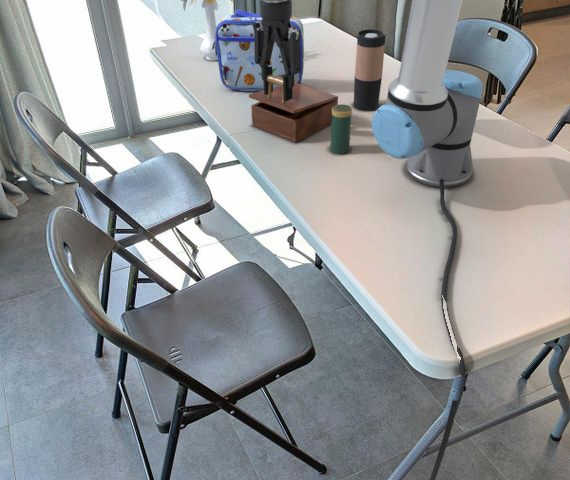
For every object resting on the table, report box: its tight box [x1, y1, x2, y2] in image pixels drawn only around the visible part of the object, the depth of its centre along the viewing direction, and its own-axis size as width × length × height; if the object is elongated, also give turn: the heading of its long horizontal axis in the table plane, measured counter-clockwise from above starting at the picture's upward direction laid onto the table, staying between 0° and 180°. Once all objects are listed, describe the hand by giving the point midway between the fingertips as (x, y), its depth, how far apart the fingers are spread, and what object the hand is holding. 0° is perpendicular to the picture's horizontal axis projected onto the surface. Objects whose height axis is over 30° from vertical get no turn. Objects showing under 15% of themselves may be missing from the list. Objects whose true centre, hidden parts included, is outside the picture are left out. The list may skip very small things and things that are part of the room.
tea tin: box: [329, 103, 353, 155], centre depth 135 cm, size 5×5×11 cm
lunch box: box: [212, 8, 305, 92], centre depth 163 cm, size 28×10×22 cm, turn 84°
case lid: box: [248, 74, 339, 113], centre depth 144 cm, size 19×16×7 cm
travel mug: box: [353, 28, 386, 112], centre depth 152 cm, size 8×8×20 cm
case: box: [250, 98, 339, 144], centre depth 149 cm, size 18×16×6 cm
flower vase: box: [180, 0, 234, 62], centre depth 182 cm, size 13×18×25 cm
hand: (278, 96), depth 141 cm, fingers closed on case lid, 6 cm apart
